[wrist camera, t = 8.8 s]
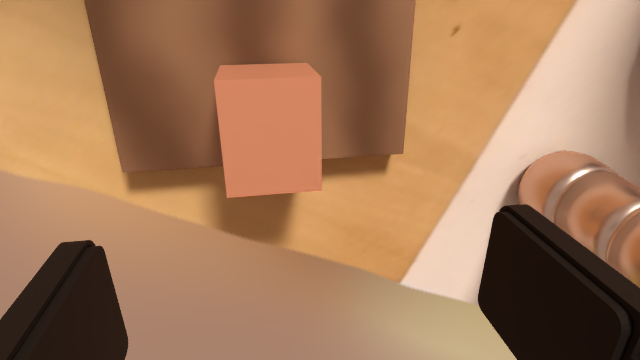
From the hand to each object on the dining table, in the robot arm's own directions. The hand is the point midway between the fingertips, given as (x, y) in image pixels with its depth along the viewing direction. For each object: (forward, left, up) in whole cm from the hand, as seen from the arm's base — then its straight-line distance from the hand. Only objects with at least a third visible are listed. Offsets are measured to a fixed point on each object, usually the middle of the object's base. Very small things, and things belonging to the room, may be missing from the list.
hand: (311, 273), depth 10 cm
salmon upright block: (0, 0, -16) cm, 16 cm away
